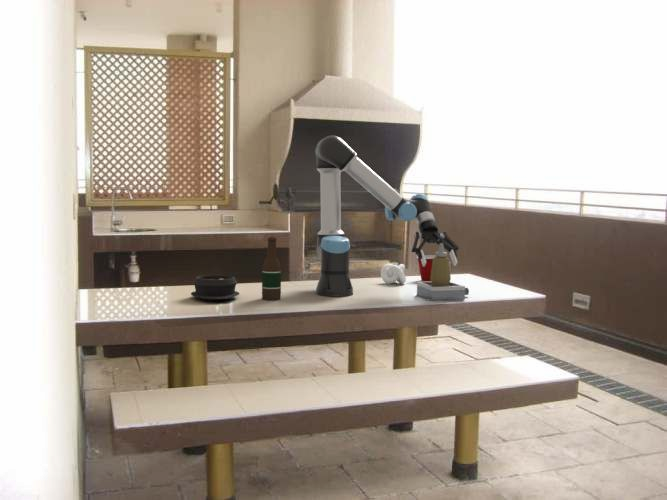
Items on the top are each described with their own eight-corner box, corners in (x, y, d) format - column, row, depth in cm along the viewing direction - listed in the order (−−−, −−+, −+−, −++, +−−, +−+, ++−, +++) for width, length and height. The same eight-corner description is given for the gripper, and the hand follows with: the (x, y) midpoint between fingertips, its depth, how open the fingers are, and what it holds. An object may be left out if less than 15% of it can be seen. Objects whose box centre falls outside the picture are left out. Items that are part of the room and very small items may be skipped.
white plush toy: (381, 285, 307) (382, 265, 306) (379, 281, 319) (379, 262, 318) (406, 285, 307) (407, 265, 306) (403, 281, 319) (403, 262, 318)
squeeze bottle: (450, 289, 269) (451, 244, 267) (429, 288, 270) (430, 243, 269) (450, 286, 277) (452, 242, 275) (430, 285, 278) (432, 242, 277)
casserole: (243, 303, 251) (243, 281, 250) (192, 304, 246) (192, 281, 245) (235, 293, 275) (235, 272, 274) (189, 294, 270) (188, 273, 270)
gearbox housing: (432, 300, 265) (432, 287, 264) (416, 294, 279) (417, 281, 278) (475, 299, 270) (476, 285, 270) (458, 293, 284) (458, 280, 284)
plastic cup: (412, 279, 328) (413, 254, 327) (433, 278, 331) (433, 254, 330) (420, 282, 318) (421, 256, 316) (442, 281, 320) (442, 256, 319)
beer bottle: (265, 301, 257) (266, 238, 254) (258, 297, 264) (258, 236, 261) (284, 299, 260) (285, 237, 258) (276, 296, 267) (277, 236, 265)
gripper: (451, 230, 293) (465, 269, 280) (397, 230, 286) (408, 270, 273) (456, 219, 287) (471, 258, 274) (401, 218, 281) (414, 258, 268)
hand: (440, 264), depth 274 cm, fingers open, 13 cm apart
